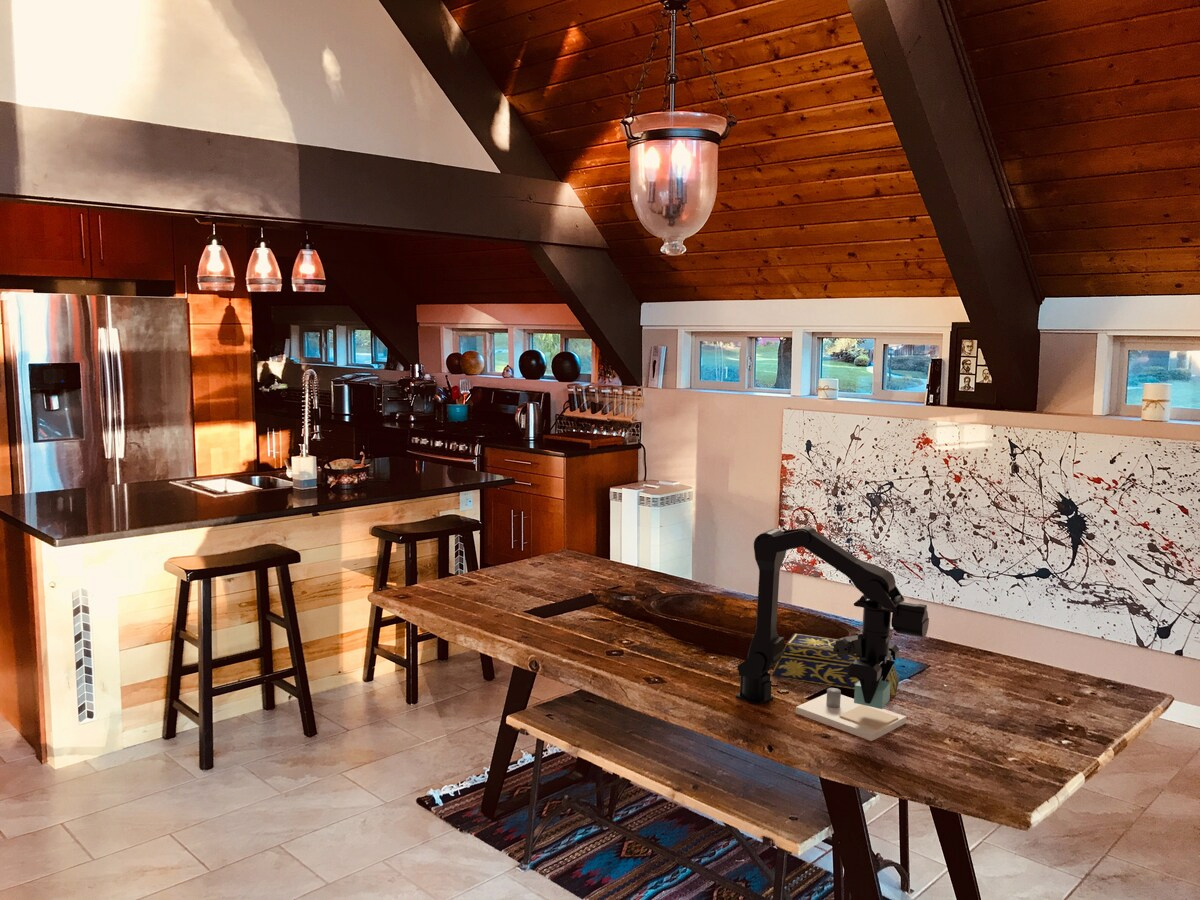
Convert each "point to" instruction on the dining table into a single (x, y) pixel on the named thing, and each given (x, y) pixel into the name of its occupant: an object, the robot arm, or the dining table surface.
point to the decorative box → (820, 663)
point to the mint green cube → (879, 697)
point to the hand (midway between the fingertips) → (871, 698)
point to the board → (850, 715)
